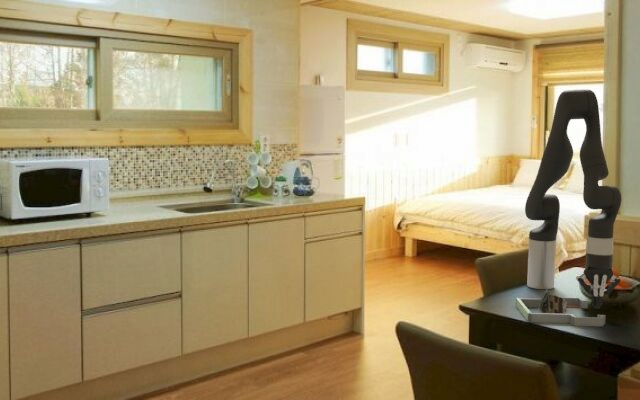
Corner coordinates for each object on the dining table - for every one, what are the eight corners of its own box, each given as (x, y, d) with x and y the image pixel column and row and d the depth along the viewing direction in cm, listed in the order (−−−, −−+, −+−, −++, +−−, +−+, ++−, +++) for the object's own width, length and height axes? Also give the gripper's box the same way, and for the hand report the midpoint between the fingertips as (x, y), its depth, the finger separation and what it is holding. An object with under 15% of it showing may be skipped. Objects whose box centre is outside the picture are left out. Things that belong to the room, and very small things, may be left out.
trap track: (514, 303, 220) (514, 296, 219) (584, 305, 218) (584, 297, 217) (529, 324, 197) (530, 315, 197) (607, 326, 195) (608, 318, 195)
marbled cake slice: (571, 323, 201) (573, 289, 207) (547, 315, 201) (551, 282, 208) (557, 336, 208) (561, 303, 215) (535, 329, 209) (539, 296, 216)
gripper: (617, 249, 207) (614, 304, 209) (573, 248, 208) (570, 303, 210) (626, 254, 200) (623, 311, 202) (580, 253, 201) (578, 310, 203)
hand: (596, 307), depth 206 cm, fingers closed
